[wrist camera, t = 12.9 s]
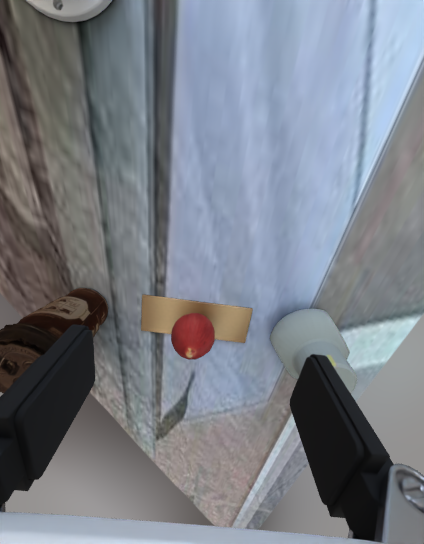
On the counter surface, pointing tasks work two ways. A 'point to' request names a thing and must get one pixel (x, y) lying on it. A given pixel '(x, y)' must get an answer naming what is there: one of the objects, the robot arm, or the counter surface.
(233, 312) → the row strip
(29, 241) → the counter surface
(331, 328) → the air freshener
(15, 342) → the coffee cup
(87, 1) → the robot arm
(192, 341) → the onion
